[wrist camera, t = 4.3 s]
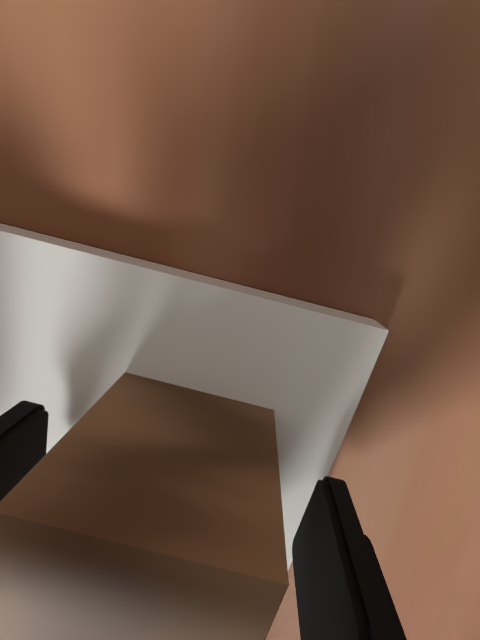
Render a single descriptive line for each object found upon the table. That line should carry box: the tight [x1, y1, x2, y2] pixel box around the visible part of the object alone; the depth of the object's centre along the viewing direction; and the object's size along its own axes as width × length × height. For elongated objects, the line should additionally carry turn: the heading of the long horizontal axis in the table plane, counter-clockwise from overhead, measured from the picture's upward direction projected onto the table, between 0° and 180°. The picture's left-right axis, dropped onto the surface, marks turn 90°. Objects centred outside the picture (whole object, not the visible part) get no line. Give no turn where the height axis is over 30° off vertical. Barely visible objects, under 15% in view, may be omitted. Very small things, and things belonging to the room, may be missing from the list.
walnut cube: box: [0, 372, 289, 640], centre depth 8 cm, size 5×5×5 cm
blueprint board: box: [0, 223, 389, 570], centre depth 11 cm, size 22×12×1 cm, turn 76°
